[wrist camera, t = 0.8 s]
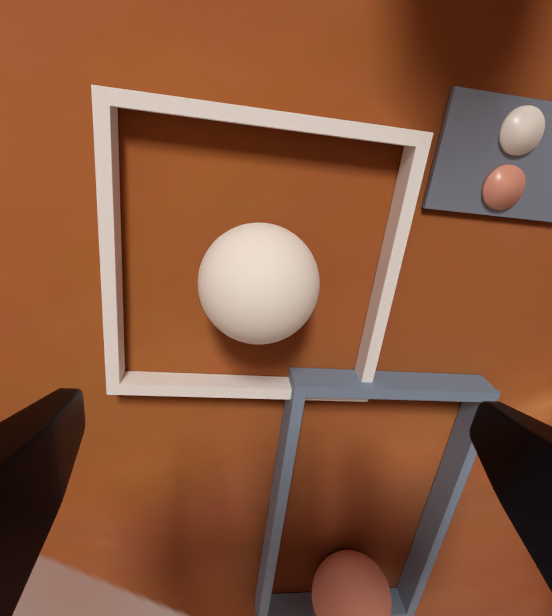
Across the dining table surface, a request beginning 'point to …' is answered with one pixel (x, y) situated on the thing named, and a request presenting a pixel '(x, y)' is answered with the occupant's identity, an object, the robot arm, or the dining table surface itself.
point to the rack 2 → (443, 496)
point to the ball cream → (258, 283)
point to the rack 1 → (114, 98)
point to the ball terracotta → (350, 586)
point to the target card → (493, 156)
